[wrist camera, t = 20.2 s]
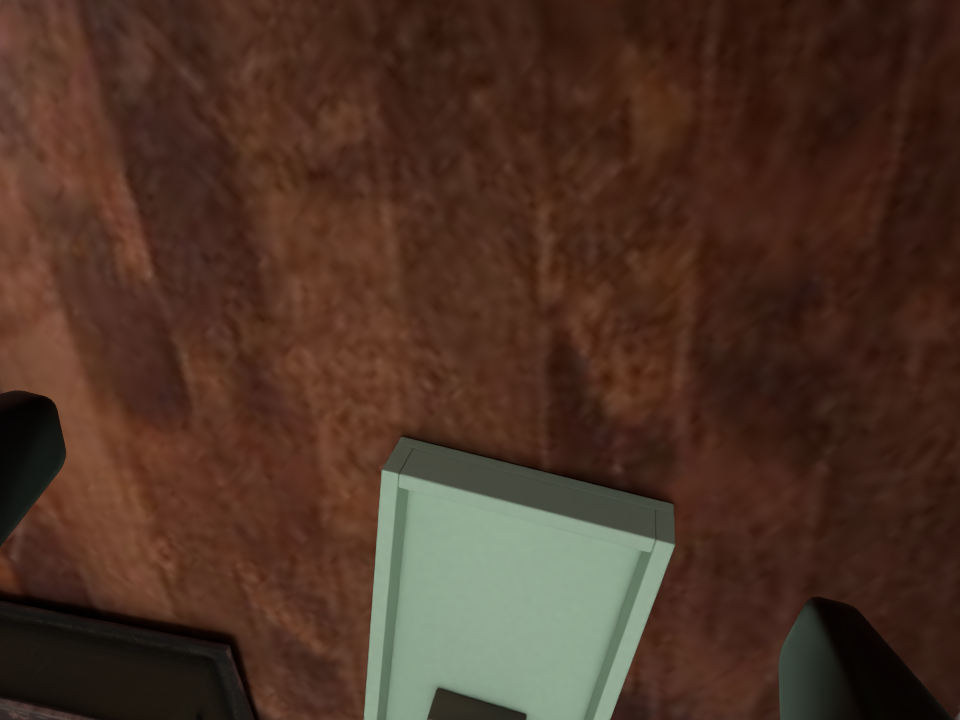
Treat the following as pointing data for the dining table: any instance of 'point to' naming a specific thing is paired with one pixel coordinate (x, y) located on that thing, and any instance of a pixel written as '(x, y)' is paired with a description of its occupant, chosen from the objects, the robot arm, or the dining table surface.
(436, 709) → the brown flat block
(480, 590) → the pan
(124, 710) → the diary
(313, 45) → the dining table surface
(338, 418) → the dining table surface
